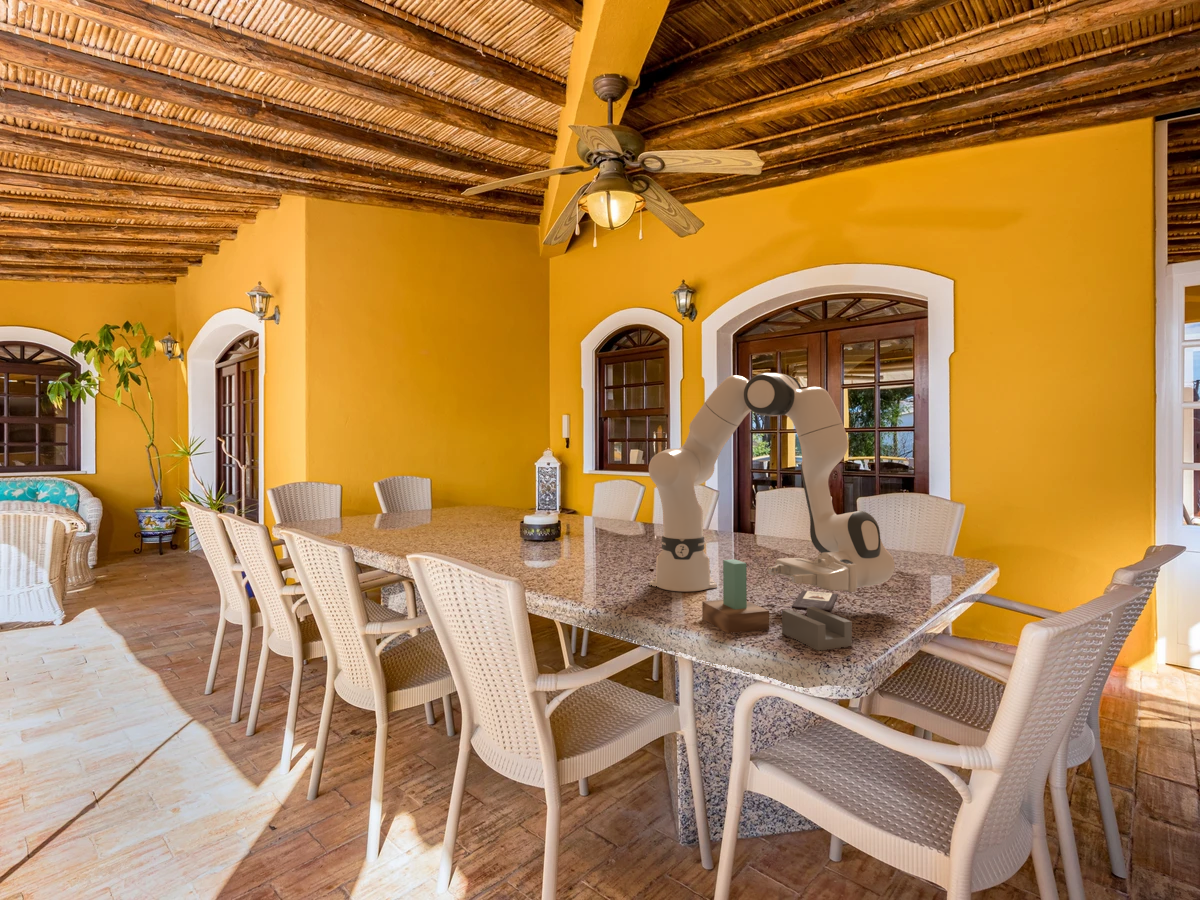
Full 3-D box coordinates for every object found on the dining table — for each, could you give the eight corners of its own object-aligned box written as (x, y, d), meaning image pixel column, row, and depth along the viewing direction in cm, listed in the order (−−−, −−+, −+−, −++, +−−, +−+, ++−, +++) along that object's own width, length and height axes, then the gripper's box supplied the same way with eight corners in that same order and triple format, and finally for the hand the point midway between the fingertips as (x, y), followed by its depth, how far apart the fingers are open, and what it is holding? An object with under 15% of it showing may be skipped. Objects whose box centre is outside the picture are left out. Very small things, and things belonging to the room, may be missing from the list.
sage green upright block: (723, 603, 144) (723, 560, 144) (735, 602, 145) (734, 559, 145) (734, 609, 140) (734, 564, 139) (746, 608, 141) (746, 563, 140)
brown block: (702, 618, 147) (702, 601, 147) (740, 614, 150) (740, 597, 150) (728, 633, 135) (728, 615, 135) (769, 629, 138) (769, 610, 138)
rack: (782, 633, 135) (782, 609, 135) (813, 629, 138) (813, 606, 138) (817, 650, 124) (817, 625, 124) (851, 646, 126) (851, 621, 126)
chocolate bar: (791, 606, 155) (802, 590, 172) (791, 609, 155) (802, 593, 172) (830, 610, 151) (837, 593, 168) (830, 614, 151) (837, 597, 168)
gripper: (804, 550, 160) (756, 553, 156) (861, 565, 141) (808, 569, 136) (804, 575, 160) (756, 579, 156) (861, 593, 141) (808, 599, 137)
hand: (781, 575), depth 146 cm, fingers open, 8 cm apart
